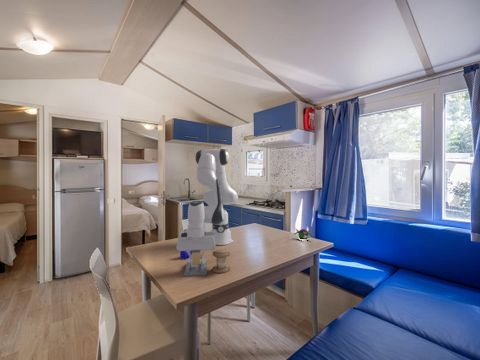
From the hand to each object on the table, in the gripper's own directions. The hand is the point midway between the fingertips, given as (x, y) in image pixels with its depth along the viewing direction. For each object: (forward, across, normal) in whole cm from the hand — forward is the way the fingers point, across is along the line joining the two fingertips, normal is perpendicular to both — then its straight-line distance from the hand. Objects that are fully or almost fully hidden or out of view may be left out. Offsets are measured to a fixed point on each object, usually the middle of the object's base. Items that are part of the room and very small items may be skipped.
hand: (196, 258), depth 120 cm
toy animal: (+6, -78, -45) cm, 91 cm away
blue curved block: (+6, +6, -22) cm, 23 cm away
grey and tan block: (+2, 0, 0) cm, 3 cm away
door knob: (+6, -13, +2) cm, 14 cm away
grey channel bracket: (+6, 0, 0) cm, 6 cm away
